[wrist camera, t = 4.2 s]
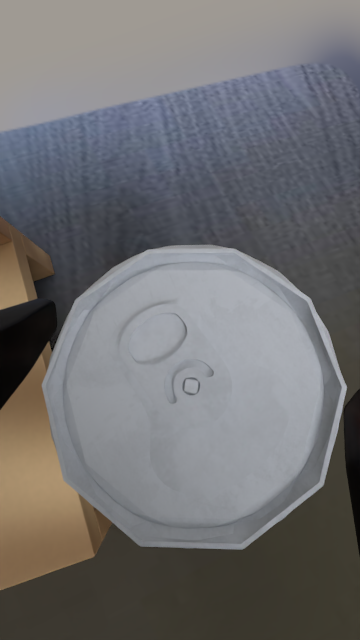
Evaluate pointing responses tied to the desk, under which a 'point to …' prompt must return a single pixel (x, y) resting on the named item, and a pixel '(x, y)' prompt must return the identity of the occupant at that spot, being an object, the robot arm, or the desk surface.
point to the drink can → (194, 397)
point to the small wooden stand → (35, 451)
